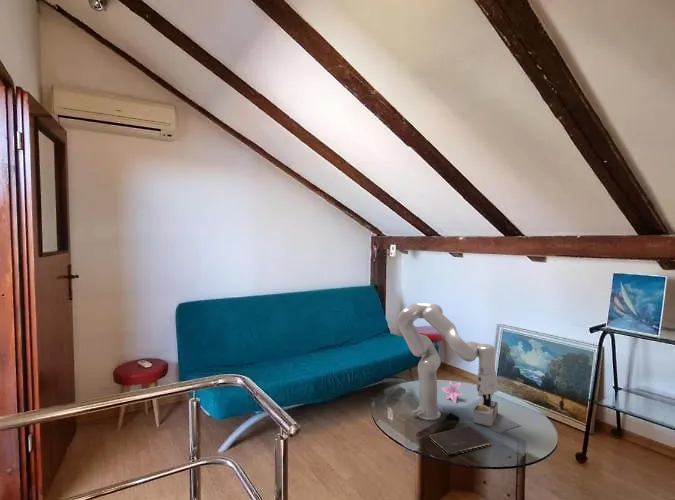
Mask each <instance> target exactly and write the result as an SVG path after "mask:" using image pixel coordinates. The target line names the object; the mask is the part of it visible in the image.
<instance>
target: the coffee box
mask: <svg viewBox="0 0 675 500" xmlns="http://www.w3.org/2000/svg"><path fill="white" fill-rule="evenodd" d="M498 404H499V403H498V401H494V400H491V406H490V407H487V406H485V405H484V398H480V399H479V401H478V403H477V404H476V406H475V407H474V409H473V411H472V413H473V423H474V424H478V425H484V426H485V425H487V426H492V425H493V423H494V420H495V418H496V416H497V414H498V413H499V411H498V409H499V407H498V406H499V405H498ZM487 426H486V427H487Z"/></svg>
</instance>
